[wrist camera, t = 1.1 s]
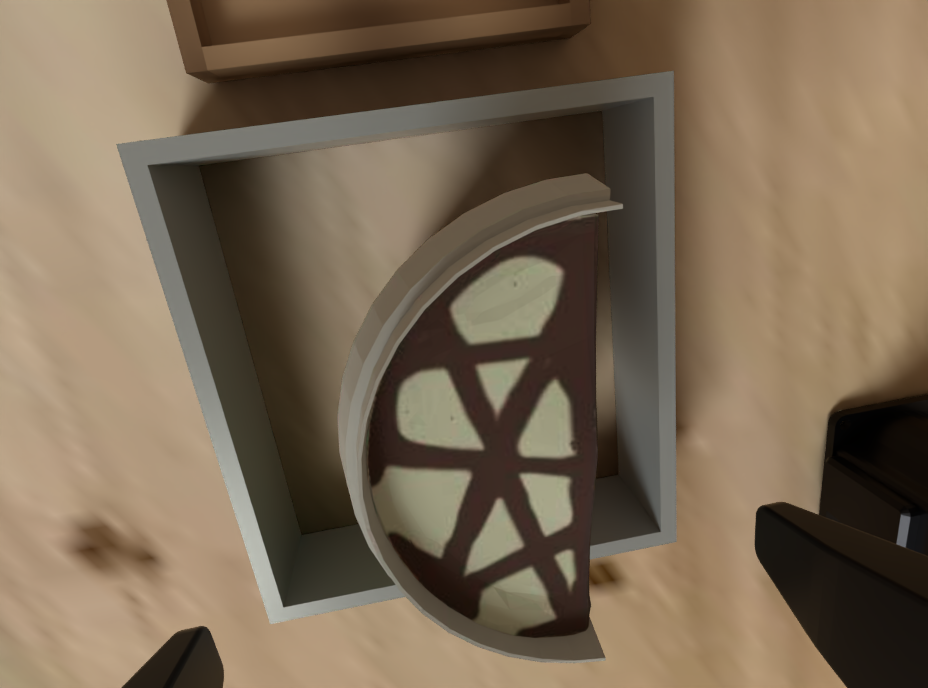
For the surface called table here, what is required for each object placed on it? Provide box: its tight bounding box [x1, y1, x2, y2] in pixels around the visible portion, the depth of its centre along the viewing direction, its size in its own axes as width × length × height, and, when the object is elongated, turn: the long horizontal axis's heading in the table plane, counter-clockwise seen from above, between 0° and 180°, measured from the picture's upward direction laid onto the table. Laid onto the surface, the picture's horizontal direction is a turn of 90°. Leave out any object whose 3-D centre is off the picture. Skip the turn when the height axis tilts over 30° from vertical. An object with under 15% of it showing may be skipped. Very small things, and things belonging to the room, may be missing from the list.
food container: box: [337, 173, 623, 663], centre depth 16 cm, size 12×6×10 cm, turn 3°
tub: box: [116, 71, 676, 624], centre depth 19 cm, size 15×16×4 cm
